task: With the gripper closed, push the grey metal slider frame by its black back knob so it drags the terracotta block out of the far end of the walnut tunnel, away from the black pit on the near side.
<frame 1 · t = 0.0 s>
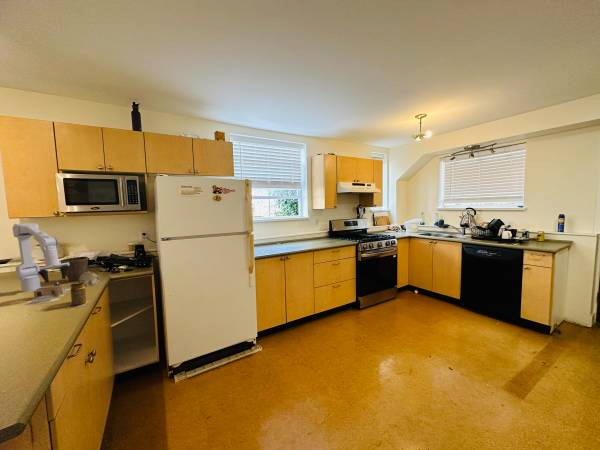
hand: (55, 280, 146), 11 cm above the worktop, tool pointing down, fingers open, 7 cm apart
condiment: (78, 304, 137), on the worktop
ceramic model: (89, 286, 169), on the worktop
tunnel deck: (49, 298, 147), on the worktop
plant pot: (76, 280, 181), on the worktop
slider frame: (49, 290, 148), point 4 cm above the worktop, slide at 0.0 cm
block: (49, 296, 147), point 1 cm above the worktop, touching tunnel deck
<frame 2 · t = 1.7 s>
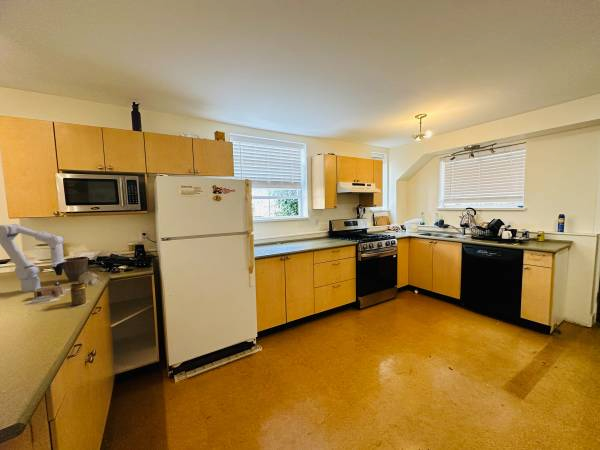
hand: (59, 275, 162), 9 cm above the worktop, tool pointing down, fingers closed
nothing on the worktop moved.
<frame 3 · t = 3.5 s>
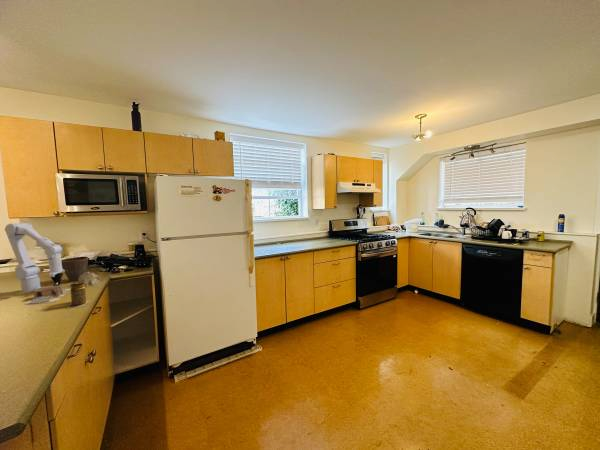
hand: (57, 285, 158), 4 cm above the worktop, tool pointing down, fingers closed
slider frame: (49, 291, 147), point 4 cm above the worktop, slide at 1.2 cm, touching gripper
block: (49, 296, 147), point 1 cm above the worktop
everything else where it was.
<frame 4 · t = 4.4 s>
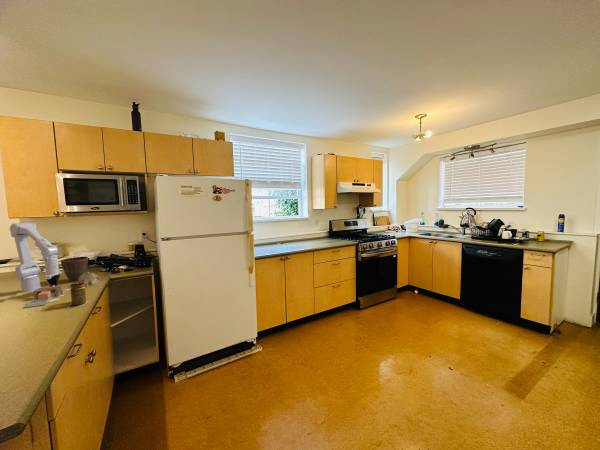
hand: (54, 287, 154), 4 cm above the worktop, tool pointing down, fingers closed
slider frame: (45, 294, 142), point 4 cm above the worktop, slide at 6.6 cm, touching block, gripper
block: (44, 299, 142), point 1 cm above the worktop, touching slider frame
everything else where it was.
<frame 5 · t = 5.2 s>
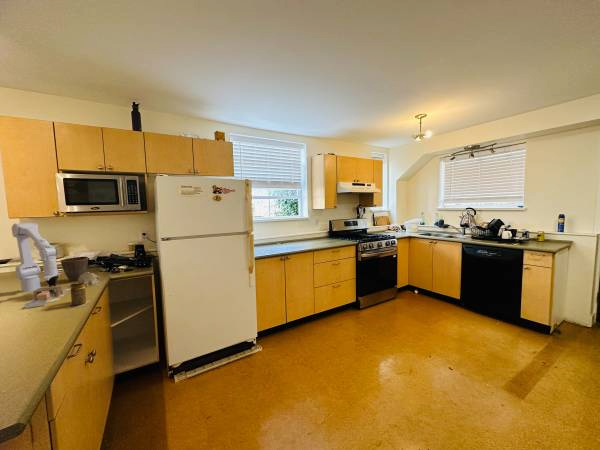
hand: (52, 288, 152), 4 cm above the worktop, tool pointing down, fingers closed, pressing on slider frame
slider frame: (44, 295, 141), point 4 cm above the worktop, slide at 7.8 cm, touching gripper, tunnel deck
block: (43, 300, 141), point 1 cm above the worktop, touching tunnel deck
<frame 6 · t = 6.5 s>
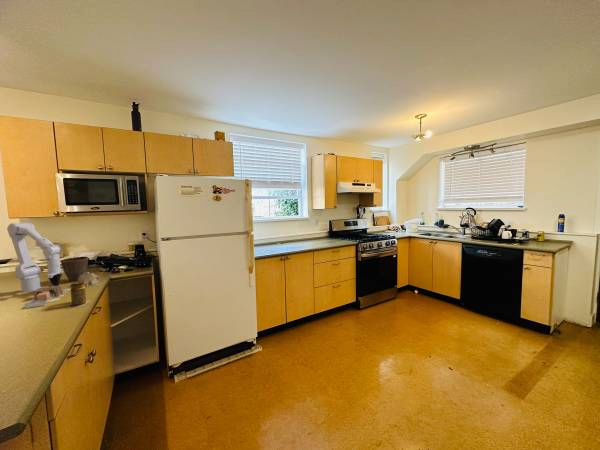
hand: (56, 286, 156), 4 cm above the worktop, tool pointing down, fingers closed
slider frame: (44, 295, 141), point 4 cm above the worktop, slide at 7.8 cm, touching tunnel deck
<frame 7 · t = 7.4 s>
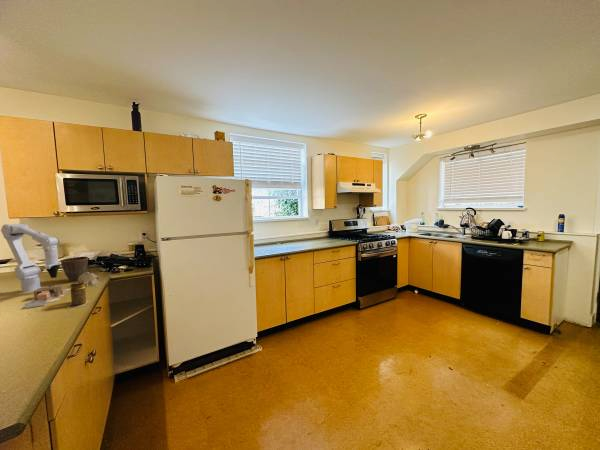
hand: (53, 277, 156), 9 cm above the worktop, tool pointing down, fingers closed
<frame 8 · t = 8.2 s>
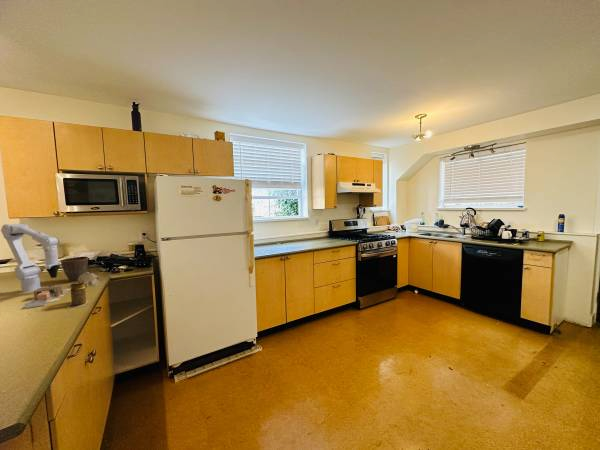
hand: (53, 277, 156), 9 cm above the worktop, tool pointing down, fingers closed
at the end: block 1.7 cm from the target spot on the tunnel deck, point 1.0 cm above the tunnel deck's base; block tilted 0°; slider frame slide at 7.8 cm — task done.
